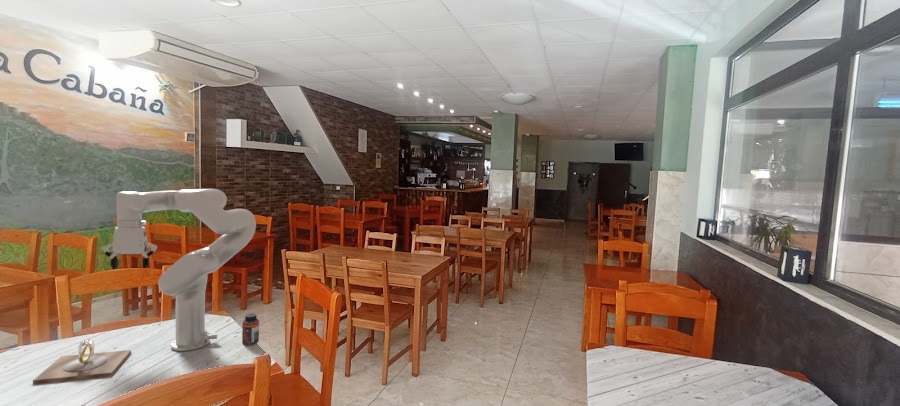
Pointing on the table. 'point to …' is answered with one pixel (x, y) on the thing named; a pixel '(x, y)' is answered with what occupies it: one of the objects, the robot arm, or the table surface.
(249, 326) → the supplement bottle
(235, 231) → the robot arm
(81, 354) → the bracelet
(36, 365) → the table surface
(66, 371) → the walnut board
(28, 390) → the table surface
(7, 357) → the table surface
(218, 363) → the table surface
